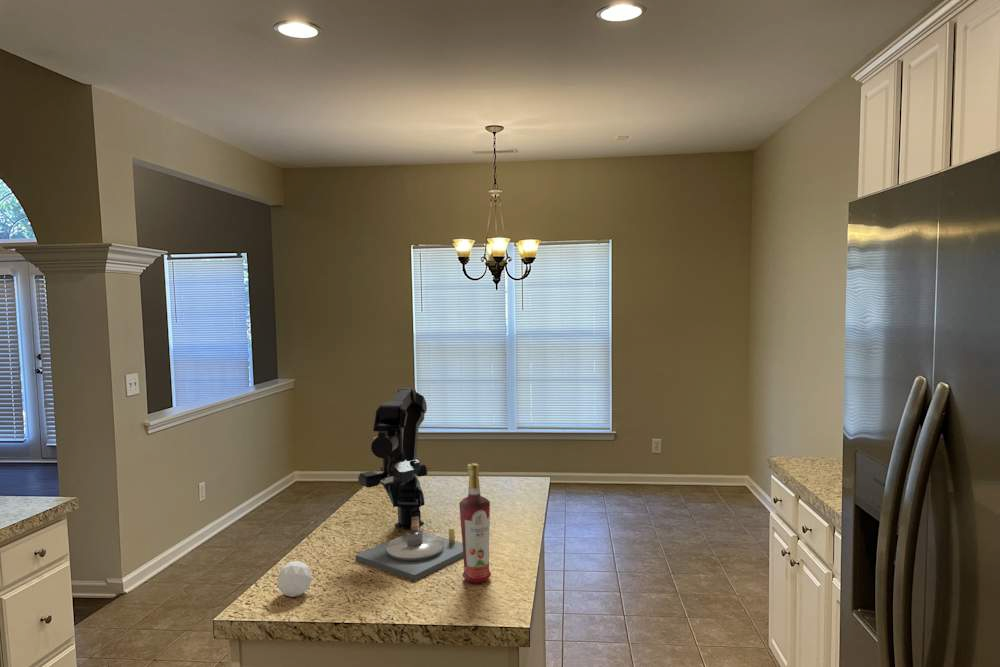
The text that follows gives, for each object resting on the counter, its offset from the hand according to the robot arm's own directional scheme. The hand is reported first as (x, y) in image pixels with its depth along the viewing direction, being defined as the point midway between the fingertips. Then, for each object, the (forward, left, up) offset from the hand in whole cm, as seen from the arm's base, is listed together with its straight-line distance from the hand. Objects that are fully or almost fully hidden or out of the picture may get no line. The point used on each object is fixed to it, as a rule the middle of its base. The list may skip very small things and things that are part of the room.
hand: (394, 504), depth 179 cm
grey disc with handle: (+9, -1, -9) cm, 13 cm away
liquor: (+34, -5, -11) cm, 36 cm away
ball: (+4, -35, -11) cm, 37 cm away
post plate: (+11, -3, -11) cm, 16 cm away
